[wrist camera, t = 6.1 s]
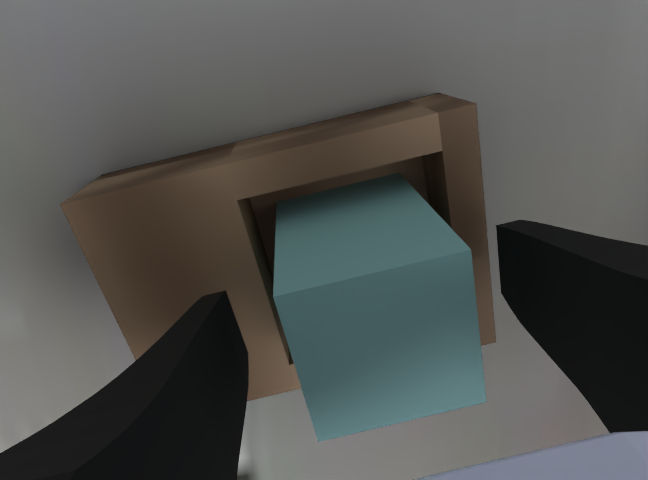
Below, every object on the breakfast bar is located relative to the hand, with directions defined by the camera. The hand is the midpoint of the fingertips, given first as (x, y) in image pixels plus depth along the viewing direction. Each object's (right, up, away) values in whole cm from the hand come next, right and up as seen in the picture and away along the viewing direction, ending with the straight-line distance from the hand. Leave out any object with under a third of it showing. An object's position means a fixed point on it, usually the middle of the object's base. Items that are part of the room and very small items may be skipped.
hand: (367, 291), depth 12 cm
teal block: (0, +1, +3) cm, 4 cm away
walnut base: (-2, +1, +4) cm, 5 cm away
